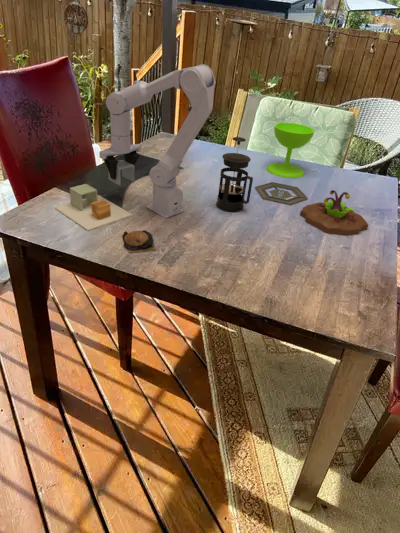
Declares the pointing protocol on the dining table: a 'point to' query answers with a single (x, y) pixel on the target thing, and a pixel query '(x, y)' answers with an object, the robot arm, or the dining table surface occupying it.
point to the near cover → (123, 172)
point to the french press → (233, 190)
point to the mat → (86, 217)
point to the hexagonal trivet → (286, 194)
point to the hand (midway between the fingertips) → (121, 176)
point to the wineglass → (290, 147)
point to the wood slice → (138, 241)
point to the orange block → (100, 209)
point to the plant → (334, 216)
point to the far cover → (82, 190)
